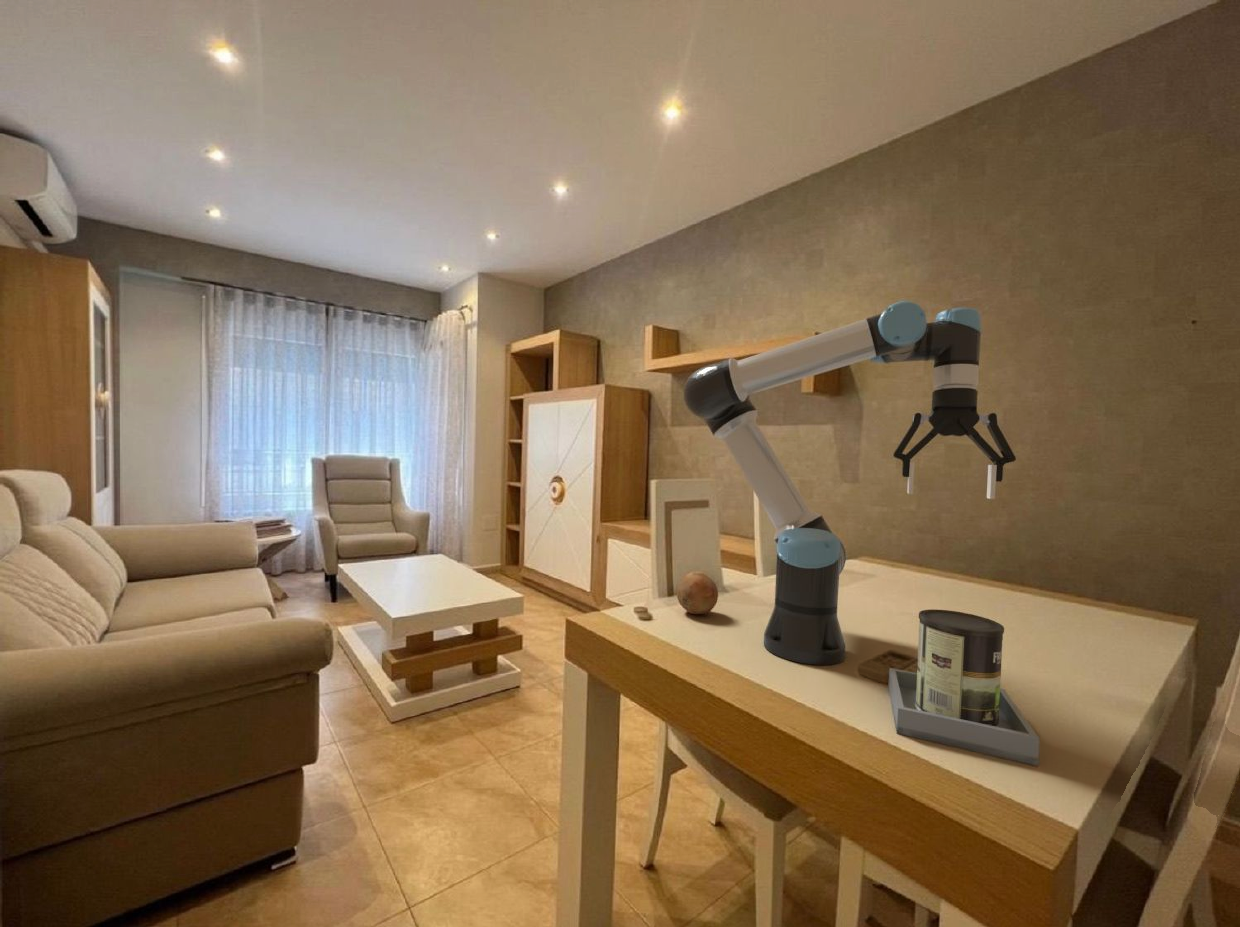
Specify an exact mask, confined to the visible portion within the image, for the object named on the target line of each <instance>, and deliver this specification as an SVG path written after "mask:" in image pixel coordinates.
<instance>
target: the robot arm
mask: <svg viewBox="0 0 1240 927" xmlns="http://www.w3.org/2000/svg"><path fill="white" fill-rule="evenodd" d="M927 320H928V319H927V314H926V311H925V310H924V309H923V308H922V307H921V305H920V304H917V303H916V302H914V301H909V300H902V301H898V302H894V303H892V304H891V305H889V306H888V307H886V309H885V310H883V311H882V313H880V314H879V313H878V314H876V315H873V316H870V317H868V318H865V319H862V320H858V321H855V322H852V323H850V324H849V323H848V324H846V325H843V326H840V327H837V328H834V329H831V330H828V331H824V332H822V333H819V334H816V335H812V336H810V337H806V338H803V339H800V340H797V341H794V342H791V343H788V344H785V345H782V346H779V347H775V348H772V349H770V350H767V351H763V352H760V353H758V354H754V355H751V356H749V357H745V358H742V359H739V360H738V359H735V358H734V357H729V358H727V359H723V360H722V361H721V360H720V361H718V362H714V363H711V364H708V365H705V366H703V367H700V368H699V369H697V370H695V371H694V372H692V373H691V375H690V376H688V378H687V380H686V382H685V384H684V388H683V393H682V394H683V395H682V396H683V401H684V403H685V406H686V407H687V409H688V410H689V412H690V413H692V414H693V415H694V416H695V417H698V418H701V419H703V420H704V422H705V423H706V425H707V427H708V429H709V430H710V431H711V434H712V435H713V437H714V439H715V438H716V439H719V440H722V441H724V443H725V445H726V447H727V448H728V450H729V451H730V454H731V455H732V457H733V458H734V460H735V462H736V463H737V465H738V467H739V468H740V470H741V472H742V473H743V475H744V477H745V479H746V480H747V482H748V484H749V485H750V487H751V489H752V491H753V492H754V494H755V496H756V497H757V499H758V501H759V502H760V504H761V505H762V507H763V509H764V511H765V512H766V514H767V516H768V517H769V519H770V521H771V522H772V524H773V526H774V528H775V532H774V535H773V539H774V541H775V543H776V568H775V571H776V572H775V586H774V587H775V588H774V589H775V590H774V607H773V610H772V613H771V614H770V618H769V620H768V623H767V625H766V628H765V630H764V632H763V646H764V648H765V649H766V650H767V651H768V652H770V653H771V654H772V655H773V654H774V655H776V656H777V657H780V658H782V659H786V660H788V661H792V662H797V663H801V664H808V665H817V666H818V665H821V666H822V665H823V666H826V665H827V666H828V665H835V664H840V663H842V662H844V660H845V658H846V642H845V640H844V636H843V633H842V629H841V625H840V623H839V622H840V621H839V618H838V605H839V604H838V602H839V586H840V585H839V583H840V582H839V581H840V575H841V573H842V571H844V568H845V566H846V565H845V564H846V559H847V553H846V549H845V546H844V543H843V542H842V540H841V538H840V537H839V536H838V535H837V534H835V533H834V532H833V531H832V530H831V528H830V526H829V525H828V523H827V522H826V520H825V518H824V517H823V515H821V513H818V512H815V511H812V510H811V509H810V508H809V505H808V504H807V503H806V501H805V499H804V498H803V496H802V494H801V492H800V491H799V489H798V487H797V486H796V485H795V483H794V481H793V480H792V478H791V477H790V475H789V474H788V472H787V470H786V468H785V467H784V466H783V463H782V462H781V461H780V459H779V457H778V456H777V453H776V452H775V451H774V449H773V447H772V446H771V444H770V443H769V441H768V439H767V437H766V436H765V434H764V433H763V431H762V430H761V428H760V427H759V425H758V423H757V417H758V413H759V412H758V410H757V409H756V407H755V406H754V403H753V402H752V401H751V398H750V395H753V394H757V393H759V392H763V391H766V390H770V389H773V388H776V387H780V386H783V385H786V384H789V383H792V382H793V383H794V382H796V381H800V380H803V379H805V378H810V377H813V376H817V375H820V374H823V373H826V372H830V371H833V370H836V369H840V368H843V367H847V366H850V365H853V364H856V363H861V362H863V361H866V360H869V362H871V363H878V364H879V363H880V364H881V363H883V364H884V363H885V364H889V363H905V362H920V361H921V362H924V361H925V362H927V361H928V362H929V361H933V379H932V388H933V389H935V390H933V391H932V393H931V410H930V414H923V413H920V412H916V413H915V414H914V415H913V416H912V421H911V425H910V426H909V428H908V430H907V431H906V433H904V434H905V435H904V436H903V438H902V440H901V441H900V443H899V444H898V445H897V448H896V449H895V450H894V452H893V455H892V457H894V458H895V459H898V460H900V461H901V462H902V467H901V468H902V469H901V475H902V477H903V478H907V487H906V490H907V491H906V492H907V494H908V495H913V494H914V482H915V481H914V479H915V477H914V476H915V461H911V460H912V459H913V458H914V457H915V456H916V455H917V454H918V453H919V452H920V451H921V450H922V449H924V448H925V447H926V445H928V444H929V443H930V442H931V441H932V440H933V439H934V438H935V437H936V436H937V435H940V436H941V437H951V436H953V437H963V436H967V438H969V439H970V440H971V441H972V442H973V443H974V444H975V445H976V446H977V447H978V448H979V450H981V452H982V453H983V454H984V455H985V456H986V457H987V458H988V459H989V460H990V461H991V462H992V463H993V464H988V465H987V482H986V483H987V484H986V485H987V486H986V499H989V500H995V499H996V484H997V482H998V483H999V482H1002V480H1003V476H1004V466H1005V465H1006V464H1009V463H1013V462H1015V461H1016V459H1017V458H1016V456H1015V454H1014V452H1013V450H1012V448H1011V446H1010V444H1009V442H1008V441H1007V439H1006V438H1005V435H1004V434H1003V432H1002V430H1001V428H1000V427H999V424H998V416H997V414H996V413H995V412H991V413H989V414H979V413H978V390H977V389H976V388H977V387H978V386H979V372H980V370H979V368H980V367H979V366H980V352H981V351H980V350H981V335H982V330H981V329H982V328H981V324H982V322H981V320H982V319H981V312H980V311H978V309H976V308H971V307H956V308H951V309H945V310H942V311H941V312H939V313H937V314H936V317H935V321H933V322H932V321H931V322H927ZM926 421H928V422H929V424H930V425H931V426H932V427H933V428H931V430H930V431H929V432H927V433H926V435H924V437H922V439H920V440H919V441H918V442H917V443H916V444H915V445H914V446H913V447H912V448H911V449H910V450H909V451H908V452H907V453H906V454H905V453H904V451H905V449H906V448H907V446H908V445H909V444H910V441H911V440H912V438H913V437H914V435H915V434H916V432H917V430H918V428H919V427H920V426H921V425H924V424H925V422H926ZM978 422H981V423H982V425H983V426H986V428H987V431H988V432H989V434H990V436H991V438H992V439H993V441H994V443H995V445H996V446H997V448H998V451H999V452H1000V454H1001V455H1002V456H1001V455H1000V454H999V453H997V451H996V450H995V449H994V448H993V447H992V446H991V445H990V444H989V442H987V440H985V439H984V438H983V437H982V436H981V435H980V433H979V432H978V431H977V429H976V428H975V426H976V424H978Z"/></svg>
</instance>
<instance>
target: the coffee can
mask: <svg viewBox="0 0 1240 927" xmlns="http://www.w3.org/2000/svg"><path fill="white" fill-rule="evenodd" d="M918 619H919V623H918V626H919V627H918V628H919V629H918V647H917V666H916V667H917V668H916V669H917V670H916V673H917V690H916V703H915V707H916V709H917V710H920V711H925V712H929V713H934V714H939V715H944V716H948V717H953V718H958V719H962V720H967V721H972V722H976V723H981V724H986V725H991V726H995V727H999V700H1000V689H1001V677H1002V658H1003V657H1002V656H1003V655H1002V654H1003V640H1004V639H1003V638H1004V637H1003V635H1004V633H1005V627H1004V626H1003V625H1002V623H999V622H997V621H995V620H994V619H993V620H992V619H989V618H987V617H984V616H981V615H980V616H979V615H977V614H973V613H972V614H971V613H968V612H967V613H966V612H961V611H955V610H946V609H934V608H933V609H923V610H919V612H918Z"/></svg>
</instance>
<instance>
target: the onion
mask: <svg viewBox="0 0 1240 927" xmlns="http://www.w3.org/2000/svg"><path fill="white" fill-rule="evenodd" d="M676 597H677V600H678V601H677V602H678V603H679V604H680V606H681V607H682V608H683V609H684V610H685V611H686V612H688V613H690V614H692V615H704V614H708V613H710V612H711V611H712V610H713V609H714V608H715V606H716V604H717V603H718V599H719V590H718V587H717V585H716V583H715V582H714V580H713V579H712V578H711V577H710V576H709V575H707V574H706V573H704V572H701V571H691V572H688V573H686V574H685V575H684V576H683V577H682V579H681V580H680V582H679V584H678V586H677V591H676Z"/></svg>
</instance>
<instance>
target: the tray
mask: <svg viewBox="0 0 1240 927" xmlns="http://www.w3.org/2000/svg"><path fill="white" fill-rule="evenodd" d="M887 689H888V694H889V699H890V705H891V711H892V715H893V716H892V717H893V721H894V726H895V731H896V734H898V735H902V736H906V737H910V738H916V739H920V740H923V741H928V742H932V743H936V744H941V745H946V746H950V747H953V748H959V749H962V750H966V751H971V752H974V753H979V754H985V755H987V756H992V757H998V758H1000V759H1005V760H1009V761H1013V762H1014V761H1015V762H1019V763H1022V764H1026V765H1030V766H1031V765H1032V766H1036V767H1038V766H1039V757H1040V756H1039V755H1040V738H1039V736H1038V734H1037V733H1036V732H1035V730H1034V729H1033V727H1032V726H1031V725H1030V723H1029V721H1028V720H1027V719H1026V717H1025V716H1024V714H1023V713H1022V712H1021V710H1020V709H1019V707H1018V706H1017V705H1016V704H1015V702H1014V701H1013V699H1012V698H1011V697H1010V696H1009V694H1008V692H1007V691H1006V689H1005V688H1000V700H999V727H995V726H991V725H986V724H981V723H976V722H972V721H967V720H962V719H958V718H953V717H948V716H944V715H939V714H934V713H929V712H925V711H920V710H917V709H916V707H915V703H916V690H917V672H913V671H908V670H903V669H897V668H892V667H889V670H888V688H887Z"/></svg>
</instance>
